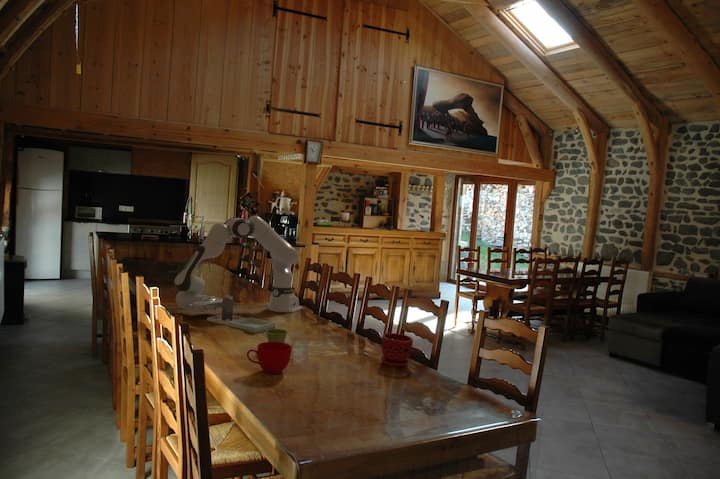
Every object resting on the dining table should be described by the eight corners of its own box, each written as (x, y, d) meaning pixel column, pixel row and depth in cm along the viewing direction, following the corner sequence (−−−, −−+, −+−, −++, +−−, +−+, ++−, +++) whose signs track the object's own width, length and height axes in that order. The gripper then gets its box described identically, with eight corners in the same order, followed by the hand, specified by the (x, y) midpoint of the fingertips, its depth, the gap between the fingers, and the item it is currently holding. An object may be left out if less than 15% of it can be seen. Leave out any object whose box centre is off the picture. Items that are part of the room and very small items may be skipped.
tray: (225, 318, 293) (226, 312, 292) (246, 322, 286) (246, 316, 286) (207, 322, 280) (207, 315, 280) (227, 327, 274) (228, 320, 274)
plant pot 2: (385, 369, 224) (387, 340, 223) (376, 359, 237) (378, 332, 236) (415, 368, 228) (417, 340, 227) (404, 359, 240) (406, 332, 239)
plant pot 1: (284, 354, 233) (285, 334, 233) (262, 353, 233) (264, 333, 233) (287, 349, 243) (289, 329, 242) (266, 347, 243) (268, 328, 242)
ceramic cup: (243, 367, 212) (244, 342, 211) (285, 365, 218) (287, 341, 217) (248, 378, 200) (250, 351, 199) (293, 376, 206) (295, 350, 205)
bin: (250, 323, 286) (250, 317, 286) (274, 328, 279) (275, 322, 279) (229, 328, 272) (230, 322, 272) (255, 333, 265) (255, 327, 264)
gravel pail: (226, 319, 287) (227, 293, 286) (234, 320, 284) (236, 295, 283) (219, 320, 282) (220, 295, 281) (227, 322, 279) (228, 296, 279)
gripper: (187, 299, 282) (207, 303, 276) (214, 295, 300) (234, 298, 294) (186, 311, 282) (206, 316, 276) (214, 306, 301) (233, 310, 294)
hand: (220, 307), depth 285 cm, fingers open, 8 cm apart
